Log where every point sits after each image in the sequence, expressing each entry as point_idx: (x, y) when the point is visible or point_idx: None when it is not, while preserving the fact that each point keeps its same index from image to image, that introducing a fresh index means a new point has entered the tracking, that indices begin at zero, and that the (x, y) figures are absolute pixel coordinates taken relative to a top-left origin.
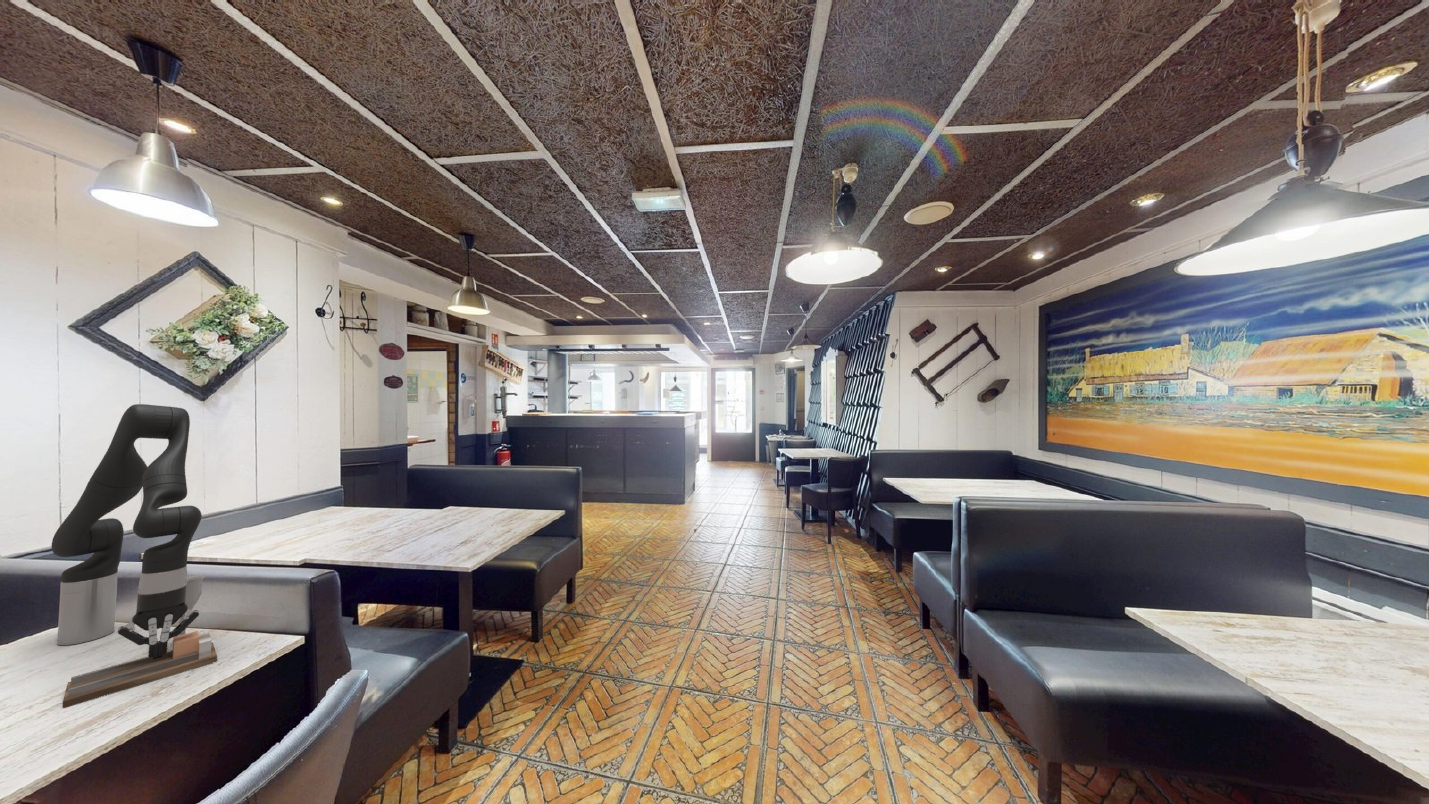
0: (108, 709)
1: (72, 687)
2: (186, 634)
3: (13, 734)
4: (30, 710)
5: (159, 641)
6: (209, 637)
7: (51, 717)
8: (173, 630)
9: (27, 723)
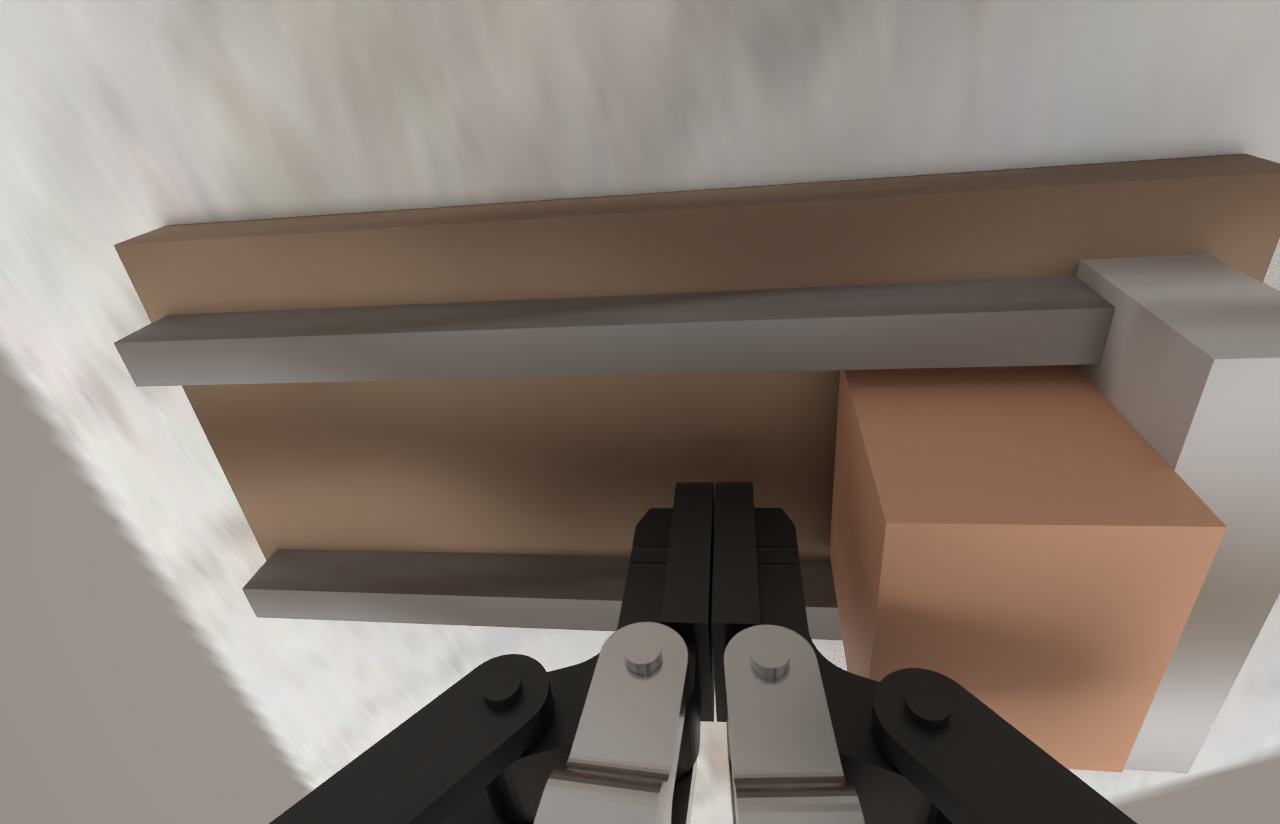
0: None
1: (259, 591)
2: (1050, 558)
3: (248, 692)
4: (145, 463)
5: (720, 656)
6: (1225, 673)
7: (322, 645)
8: (897, 778)
9: (241, 627)
